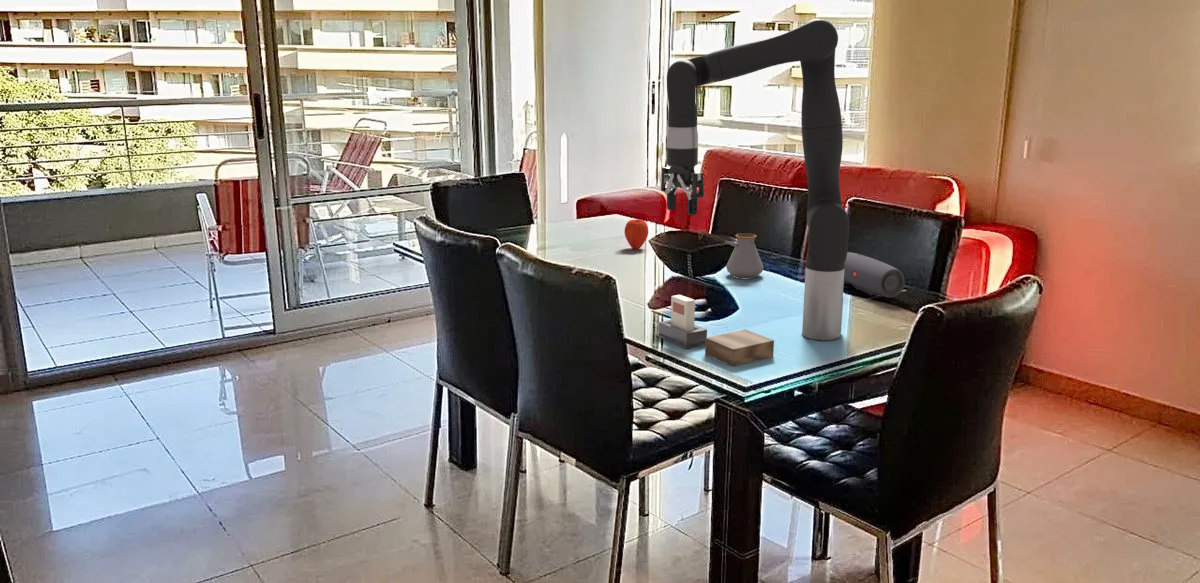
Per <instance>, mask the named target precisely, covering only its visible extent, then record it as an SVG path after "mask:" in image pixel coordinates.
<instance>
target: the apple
mask: <svg viewBox="0 0 1200 583" xmlns="http://www.w3.org/2000/svg"><path fill="white" fill-rule="evenodd" d="M648 236H649V227H648V224H647V222H646V221H645V220H644V219H638V218H636V219H630V220H628V221H627V223H625V226H624V237H625V240H626V242H627V243H628V244H629V246H630V248H631V249H633V250H636V249H638V250H639V249H641V248H642V247H643V245H644V244H645V242H646V240H647V238H648Z"/></svg>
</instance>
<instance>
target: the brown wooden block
mask: <svg viewBox="0 0 1200 583" xmlns="http://www.w3.org/2000/svg"><path fill="white" fill-rule="evenodd" d="M704 346H705V347H704V348H705V350H704V355H706V356H708V355H709V356H708V357H710V356H711V358H713V357H714V358H713V359H715V358H716V359H715V360H718V361H719V360H720V362H721V363H724V362H725V363H724V364H726V363H727V364H726V365H729V366H731V367H736V366H740V364H741V365H745V364H748V363H753V361H754V362H757V360H758V361H761V360H765V359H771V358H774V353H775V352H774V346H775V340H774V339H771V338H770V337H767V336H764V335H761V334H758V333H756V332H753V331H750V330H747V328H746V329H742V330H736V331H732V332H727V333H722V334H717V335H713V336H712V335H711V336H707V338H706V339H705V345H704ZM770 357H771V358H770ZM744 363H745V364H744Z"/></svg>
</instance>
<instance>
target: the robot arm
mask: <svg viewBox="0 0 1200 583" xmlns="http://www.w3.org/2000/svg"><path fill="white" fill-rule="evenodd" d="M838 42H839V34H838V32H837V28H836V27H835V26H834V25H833V23H831V22H830V21H828V20H826V19H823V18H814V19H813V18H812V19H811V20H808V21H806V22H805V23H804V24H803V25H801V26H799V27H797V28H794V29H792V30H790V31H788V32H785V33H783V34H780V35H776V36H773V37H769V38H765V39H762V40H757V41H752V42H751V41H750V42H746V43H742V44H738V45H734V46H729V47H726V48H721V49H719V50H714V51H713V52H710V53H708V54H704V55H700V56H695V57H691V58H686V59H682V60H677V61H674V62H673V63H672V64H671V65H669V67H668V69H667V73H666V92H667V100H668V102H667V104H668V110H667V132H666V165H667V166H665V167H661V176H660V177H661V179H660V191H661V192H664V193H665V195H666V210H668V211H674V210H677V209H676V208H677V195H676V193H677V191H678V189H679V188H680V189H682V191H683V192H684V193H685V194H686V196H687V214H688V215H690V216H694V215H696V214H697V213H698V199H700V198H703V197H704V196H705V194H704V192H705V190H704V188H705V186H704V173H703V171H700V172H699V171H698V172H695V166H697V165H698V163H699V159H698V158H699V153H698V152H699V133H698V132H699V130H698V107H697V106H698V105H697V104H696V96H697V91H696V90H697V89H696V88H698V87H701V86H704V85H707V84H710V83H717V82H723V81H726V80H727V81H728V80H730V79H735V78H738V77H739V78H740V77H742V76H747V75H750V74H751V73H754V72H758V71H760V70H764V69H767V68H770V67H775V66H779V65H782V64H787V63H795V62H799V64H800V68H801V75H802V77H801V78H802V98H801V111H800V112H801V118H800V120H801V138H802V139H801V140H802V148H803V150H802V151H803V159H804V165H805V170H806V176H807V208H806V209H807V211H806V223H807V227H808V231H809V233H808V246H807V248H808V249H807V252H806V253H807V254H806V256H805V272H804V273H805V274H804V289H803V290H804V292H803V308H802V309H803V311H802V312H803V313H802V325H801V326H802V327H801V332H802V333H801V334H802V336H803V337H806V338H807V339H809V340H815V341H816V340H817V341H832V340H833V341H834V340H838V339H839V338H841V333H842V325H843V324H842V322H843V309H844V308H843V307H844V306H843V305H844V287H845V286H844V285H845V280H844V270H845V261H846V258H847V252H849V251H848V249H849V237H850V218H849V215H848V213H847V211H846V210H845V209H844V206H843V203H842V196H841V191H840V179H839V178H840V168H841V162H842V156H843V147H844V146H843V144H844V142H843V139H844V137H843V120H842V112H841V107H840V106H841V104H840V100H839V96H838V95H839V94H838V91H837V86H836V77H835V74H836V72H835V68H836V67H835V66H836V64H835V63H836V61H835V60H836V48H837V47H838ZM666 182H667V184H666Z"/></svg>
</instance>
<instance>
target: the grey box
mask: <svg viewBox="0 0 1200 583" xmlns="http://www.w3.org/2000/svg"><path fill="white" fill-rule="evenodd" d="M655 336H656V337H657V338H660V339H662V340H664V341H665V342H666V341H667V342H668V343H671V344H673V345H674V346H677V347H680V348H683V349H684V350H688V349H692V348H697V347H702V345H703V346H705V339H706V338H707V337H708V329H706V328H704V327H701V326H700V325H697V324H694V330H693V331H688V332H687V331H685V330H682V329H680V328H678V327H675V326H673V325H671V319H668V320H667V319H666V320H663V321H658V332H656V333H655Z"/></svg>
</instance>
